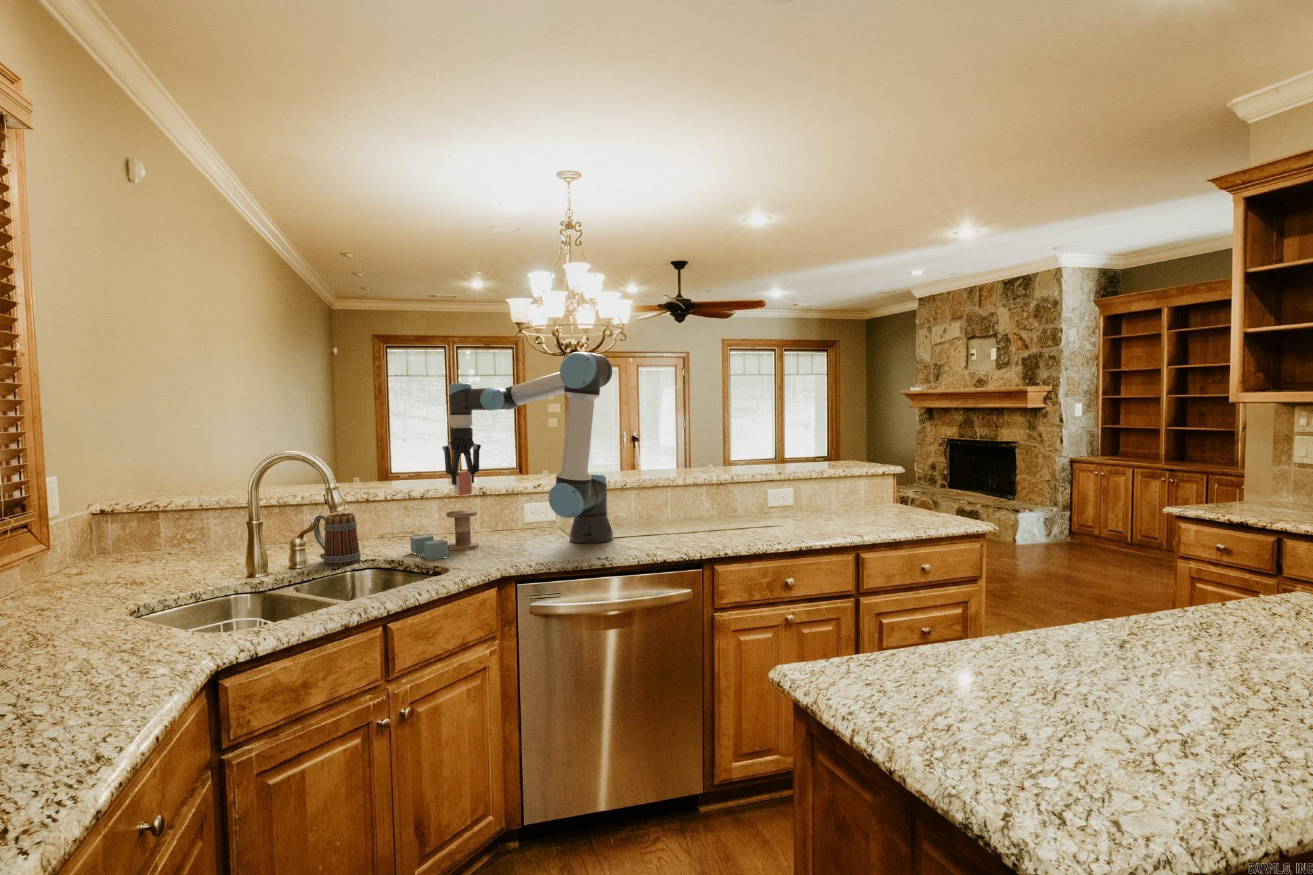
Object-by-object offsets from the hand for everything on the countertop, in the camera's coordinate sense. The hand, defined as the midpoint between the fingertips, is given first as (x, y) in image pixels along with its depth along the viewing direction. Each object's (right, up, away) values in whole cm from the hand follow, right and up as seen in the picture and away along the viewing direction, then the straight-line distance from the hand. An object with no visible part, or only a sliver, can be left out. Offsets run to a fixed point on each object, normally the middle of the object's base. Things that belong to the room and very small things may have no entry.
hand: (463, 493), depth 239 cm
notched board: (-5, -18, -20) cm, 28 cm away
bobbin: (+3, -18, -10) cm, 20 cm away
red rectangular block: (0, 0, 0) cm, 0 cm away
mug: (-32, -20, -27) cm, 46 cm away
